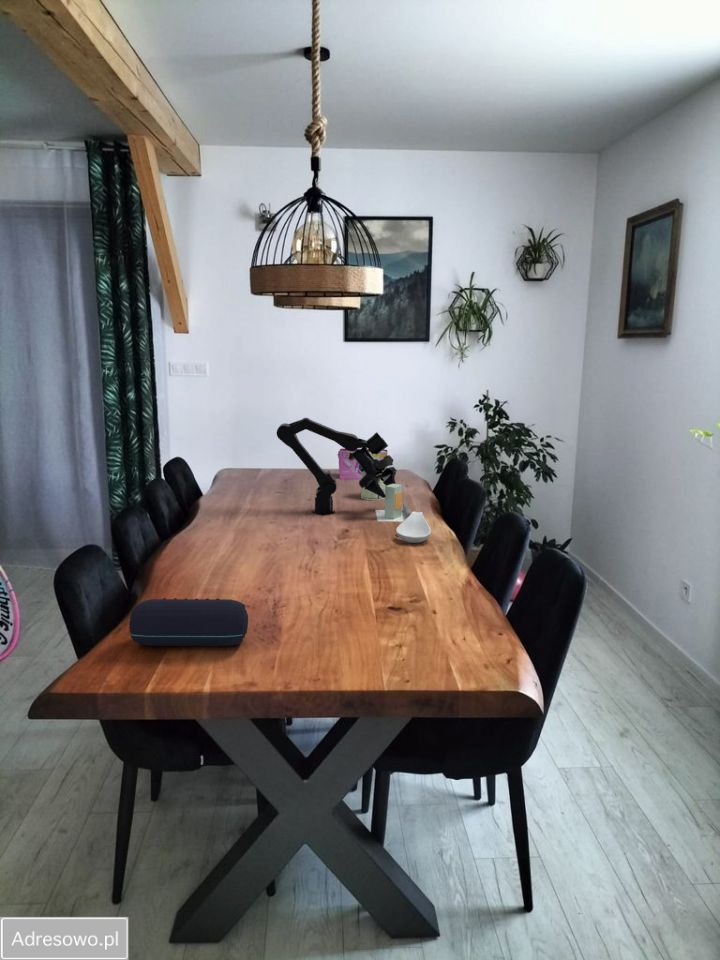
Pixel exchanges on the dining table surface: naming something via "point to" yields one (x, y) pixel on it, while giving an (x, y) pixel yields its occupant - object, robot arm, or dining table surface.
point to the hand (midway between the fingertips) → (391, 494)
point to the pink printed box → (353, 464)
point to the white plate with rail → (404, 515)
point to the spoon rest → (414, 528)
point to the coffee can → (370, 495)
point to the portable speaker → (188, 622)
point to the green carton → (393, 501)
